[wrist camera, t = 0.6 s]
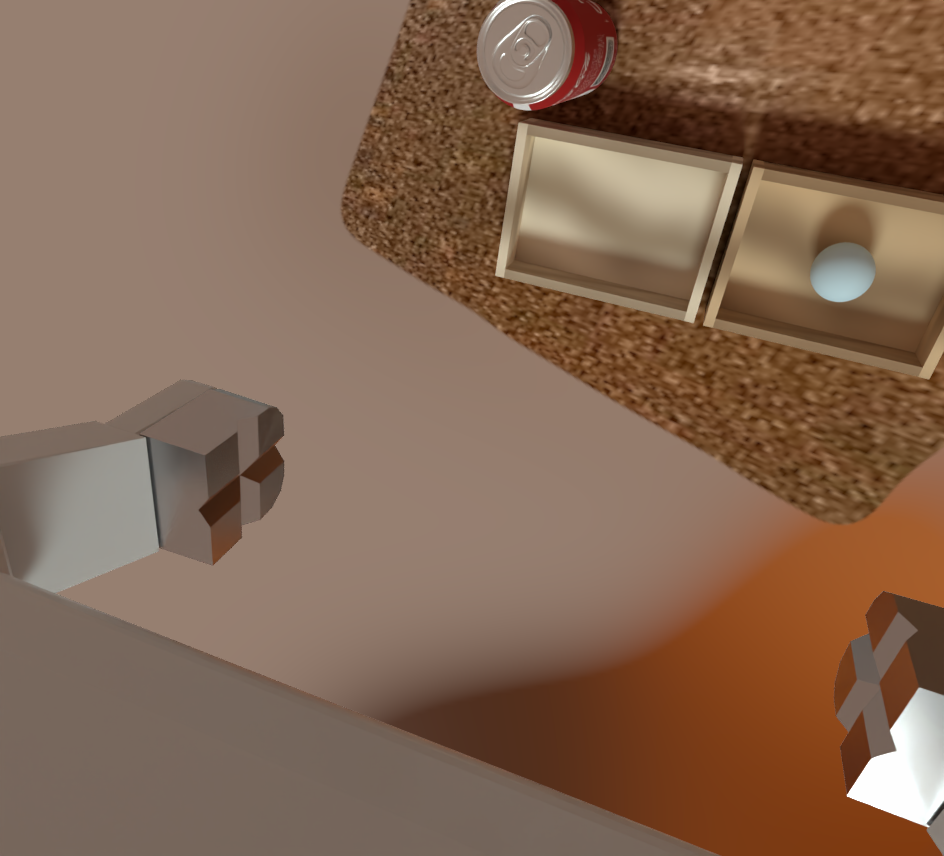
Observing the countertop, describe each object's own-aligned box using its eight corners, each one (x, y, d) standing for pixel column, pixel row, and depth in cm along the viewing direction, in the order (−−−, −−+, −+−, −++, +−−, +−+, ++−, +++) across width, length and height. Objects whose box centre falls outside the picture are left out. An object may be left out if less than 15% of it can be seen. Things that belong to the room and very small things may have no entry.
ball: (820, 230, 42) (825, 244, 40) (881, 243, 42) (890, 257, 39) (799, 285, 44) (803, 301, 41) (857, 298, 43) (865, 315, 41)
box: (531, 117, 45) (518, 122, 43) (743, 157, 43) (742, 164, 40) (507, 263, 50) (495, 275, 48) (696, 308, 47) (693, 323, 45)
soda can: (515, 55, 44) (448, 59, 34) (573, -24, 41) (517, -44, 31) (577, 115, 44) (528, 136, 34) (637, 41, 42) (603, 41, 32)
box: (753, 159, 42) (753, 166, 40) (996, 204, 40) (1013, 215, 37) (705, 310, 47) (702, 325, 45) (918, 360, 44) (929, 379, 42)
